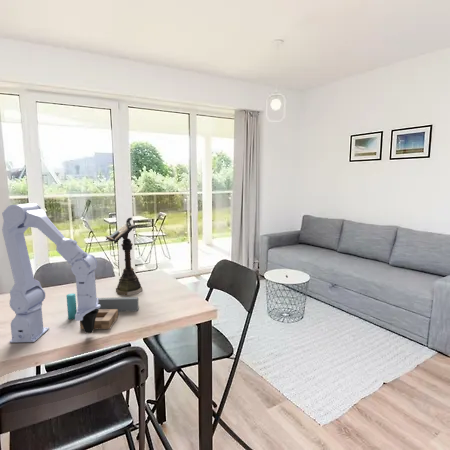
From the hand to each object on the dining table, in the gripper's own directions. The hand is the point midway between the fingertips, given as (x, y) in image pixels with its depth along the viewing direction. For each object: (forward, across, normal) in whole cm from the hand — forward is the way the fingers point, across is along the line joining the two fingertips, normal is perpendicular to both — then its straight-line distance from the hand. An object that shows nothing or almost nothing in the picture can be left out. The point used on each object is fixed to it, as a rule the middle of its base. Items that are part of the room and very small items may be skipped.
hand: (89, 332), depth 106 cm
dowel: (+1, +15, +12) cm, 19 cm away
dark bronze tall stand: (+2, +42, 0) cm, 42 cm away
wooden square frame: (+1, +10, 0) cm, 10 cm away
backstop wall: (+1, +22, 0) cm, 22 cm away
